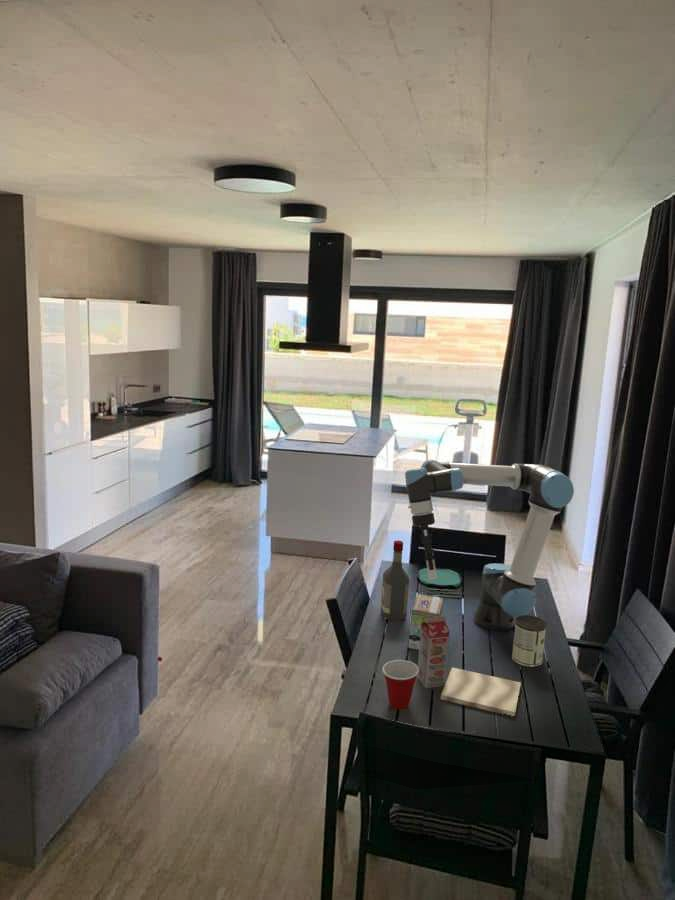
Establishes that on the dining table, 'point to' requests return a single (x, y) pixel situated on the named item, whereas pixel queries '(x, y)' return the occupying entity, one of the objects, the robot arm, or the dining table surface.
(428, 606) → the tea box
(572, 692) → the dining table surface
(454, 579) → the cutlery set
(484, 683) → the cutting board
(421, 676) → the juice carton
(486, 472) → the robot arm
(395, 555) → the liquor
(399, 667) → the plastic cup
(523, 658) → the coffee can
